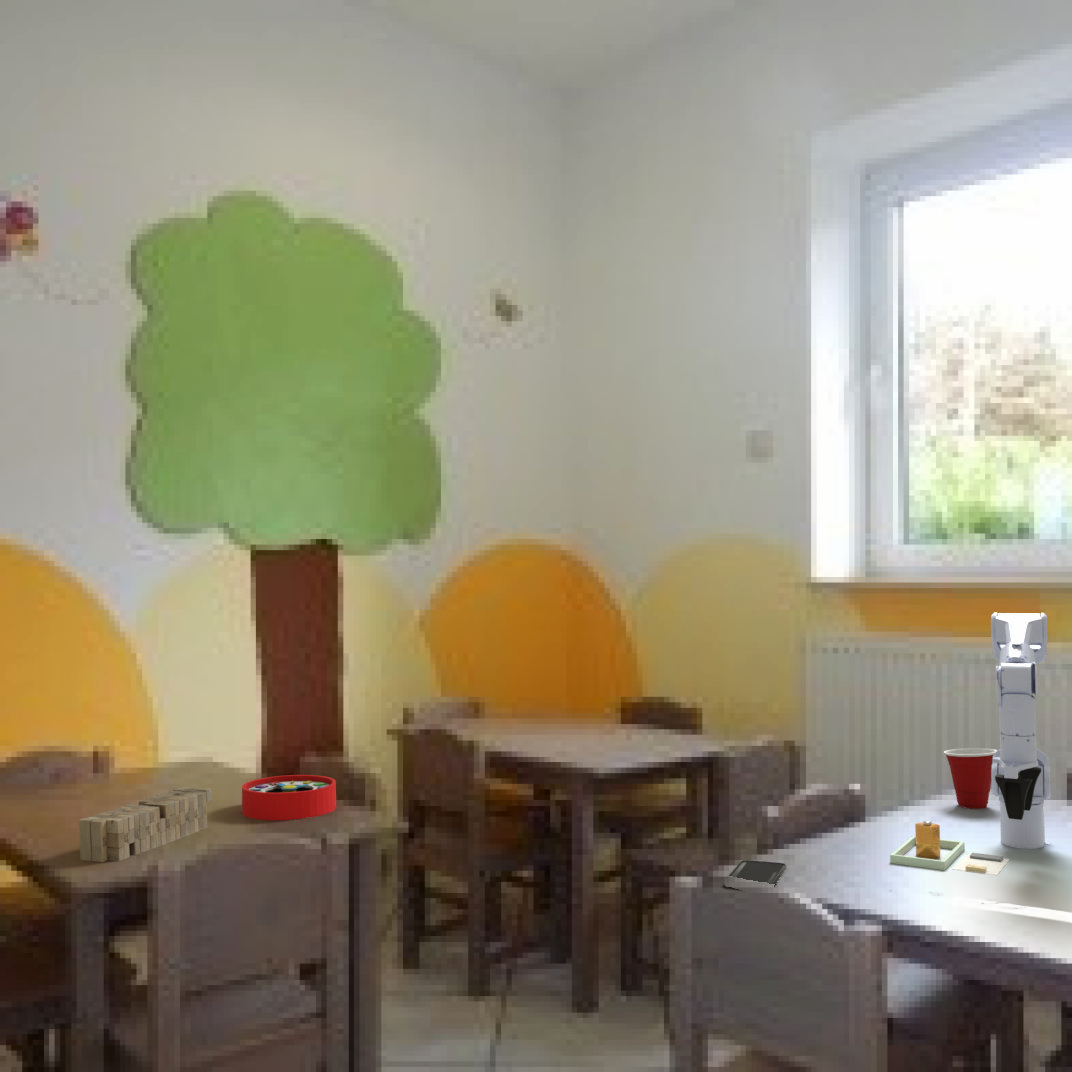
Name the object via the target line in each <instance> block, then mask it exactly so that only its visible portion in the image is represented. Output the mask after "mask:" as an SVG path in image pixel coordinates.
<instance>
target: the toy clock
mask: <svg viewBox="0 0 1072 1072" xmlns="http://www.w3.org/2000/svg"><path fill="white" fill-rule="evenodd" d="M336 785H337V780H335V779H334V778H332V777H328V776H323V775H314V774H311V775H310V774H292V775H291V774H289V775H277V776H275V775H274V776H269V777H262V778H258V779H257V778H256V779H254V780H250V781H247V782H245V783H243V784H242V785H241V814H242V815H243V816H244V817H246V818H249V819H253V820H260V821H292V820H291V819H296V820H302V819H301V818H305V819H307V818H306V817H311V818H316V817H315V816H317V817H320V816H319V815H321V816H324V814H325V815H327V814H326V813H328V814H330V813H332V812H334V811H335V810H336V809H337V788H336V787H337V786H336Z"/></svg>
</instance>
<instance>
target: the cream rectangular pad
mask: <svg viewBox="0 0 1072 1072" xmlns="http://www.w3.org/2000/svg"><path fill="white" fill-rule="evenodd" d="M1009 861H1010V859H1009V858H1004V856H1003V855H995V854H989V853H987V854H986V853H980V852H979V853H978V852H971V853H966V854H965V855H964V856H963V857H962V858H961V859H960V861H959V862H958V863H957V864H956V865H955V866H954V867H953V868H952V870H954V871H962V872H963V871H964V872H970V873H978V874H985V875H992V876H998V875H999V874H1000V872H1001V871H1002V870H1003V869H1004V868H1005V866H1006V865H1007V863H1009Z"/></svg>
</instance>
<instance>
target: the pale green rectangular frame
mask: <svg viewBox="0 0 1072 1072" xmlns="http://www.w3.org/2000/svg"><path fill="white" fill-rule="evenodd" d="M914 846H916V835H912V836H910V838H908V839H907V840H906V841H905V842H903V844H901V845H900V846H899V847H897V848H896V849H895V850H894V851H893V852H892V853H891V854H889V863H891V864H894V865H895V864H896V865H897V864H898V865H904V866H910V867H911V866H912V867H919V868H926V869H933V870H941V871H942V870H943V871H946V870H947V868H948V867H949V866H950V865H951V864H952V863H954V862H955V860H956V859H958V858H959V857H960V855H962V853H963V852H965V841H958V840H952V839H949V840H948V839H942V838H940V849H948V850H949V849H950V850H951V851H950V852H949V853H948V854H947V855H946V856H945V857H944V858H942V860H939V859H926V858H919V857H917V856H909V855H905V854H906V853H907V852H908V851H910V850H911V849H912V848H913V847H914Z"/></svg>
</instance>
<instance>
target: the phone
mask: <svg viewBox="0 0 1072 1072" xmlns="http://www.w3.org/2000/svg"><path fill="white" fill-rule="evenodd" d="M785 870H786V871H787V864H786V863H784V862H775V861H773V862H772V861H764V860H763V861H762V860H751V859H750V860H749V859H744V860H741V861H740V862H739V864H737V865H736V866H735V868H733V870H732V871H731V873H729V875H728V876H733V877H737V878H743V879H746V880H753V881H758V882H767V883H769V884H776V883H777V884H778V882H779V881H780V879H781V878H782V877H783V875H784V874H785V872H786V871H785ZM784 871H785V872H784ZM783 873H784V874H783ZM782 874H783V875H782ZM781 876H782V877H781ZM780 877H781V878H780ZM779 878H780V879H779ZM778 880H779V881H778ZM777 881H778V882H777ZM777 884H776V885H777Z"/></svg>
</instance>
